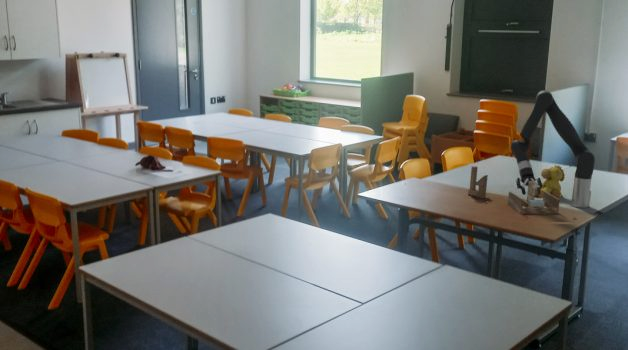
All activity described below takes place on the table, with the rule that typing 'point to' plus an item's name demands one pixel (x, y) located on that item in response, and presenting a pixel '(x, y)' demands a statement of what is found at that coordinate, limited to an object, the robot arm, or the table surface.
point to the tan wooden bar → (531, 190)
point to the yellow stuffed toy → (551, 182)
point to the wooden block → (481, 183)
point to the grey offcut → (536, 203)
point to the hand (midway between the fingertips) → (531, 194)
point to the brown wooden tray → (522, 207)
